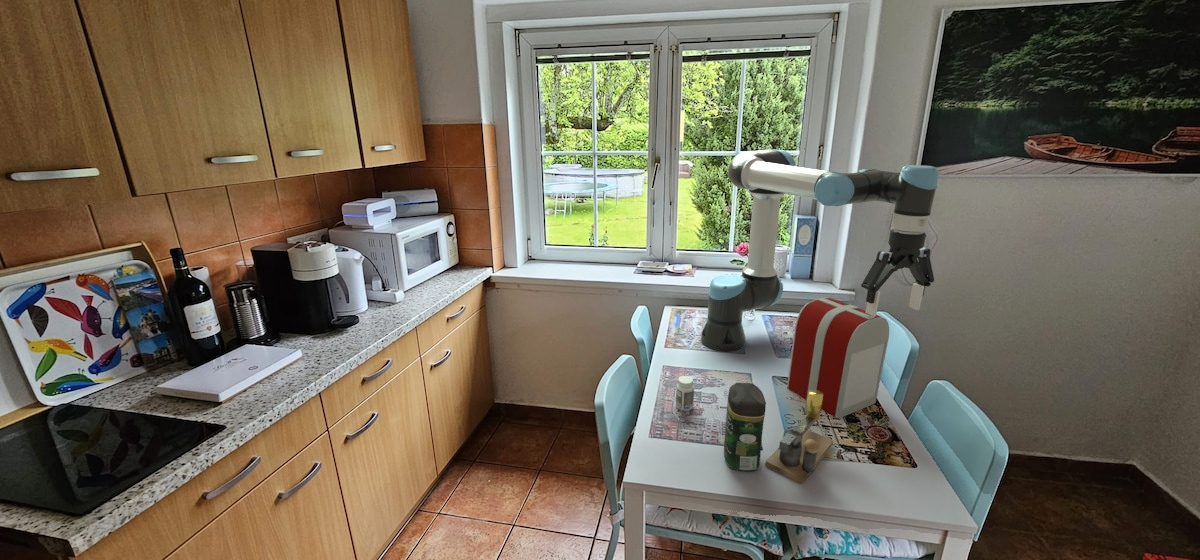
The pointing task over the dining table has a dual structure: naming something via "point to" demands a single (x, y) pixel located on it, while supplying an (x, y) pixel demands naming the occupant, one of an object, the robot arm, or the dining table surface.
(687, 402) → the pill bottle
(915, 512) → the dining table surface
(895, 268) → the robot arm
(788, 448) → the lever
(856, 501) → the dining table surface
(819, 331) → the red white arched box
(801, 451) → the wooden board with cylinders
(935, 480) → the dining table surface
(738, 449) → the coffee jar
